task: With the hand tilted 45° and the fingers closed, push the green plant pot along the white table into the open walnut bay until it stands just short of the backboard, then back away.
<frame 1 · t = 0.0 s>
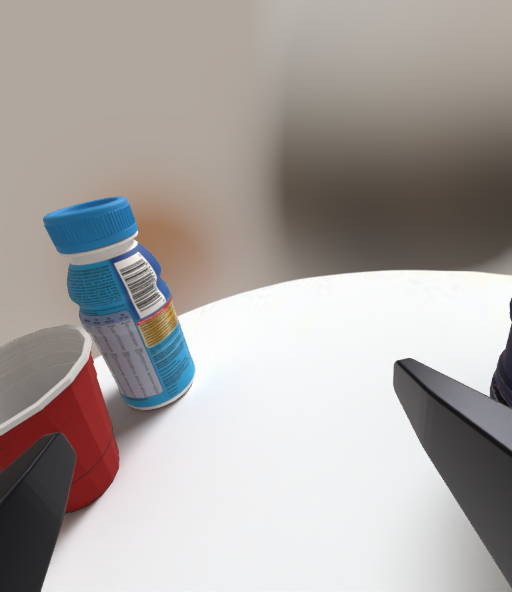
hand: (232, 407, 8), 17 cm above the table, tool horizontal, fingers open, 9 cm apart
beverage bottle: (162, 385, 35), on the table
plastic cup: (84, 480, 26), on the table
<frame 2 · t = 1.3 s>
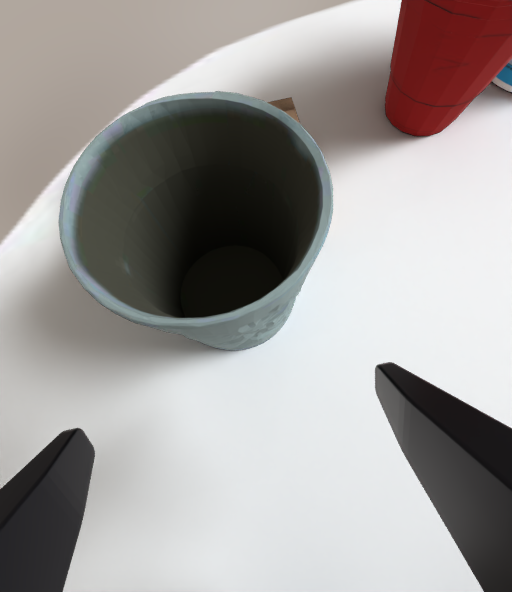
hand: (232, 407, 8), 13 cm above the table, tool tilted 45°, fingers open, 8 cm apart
walnut bay: (218, 223, 25), on the table
plastic cup: (414, 113, 27), on the table
green plant pot: (232, 295, 23), on the table
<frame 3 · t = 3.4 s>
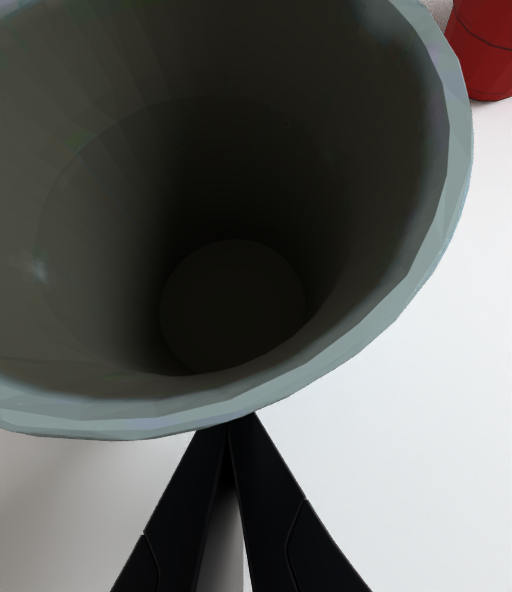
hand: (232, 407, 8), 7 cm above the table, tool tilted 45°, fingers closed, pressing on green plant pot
plastic cup: (475, 72, 21), on the table
green plant pot: (232, 308, 16), on the table, touching gripper
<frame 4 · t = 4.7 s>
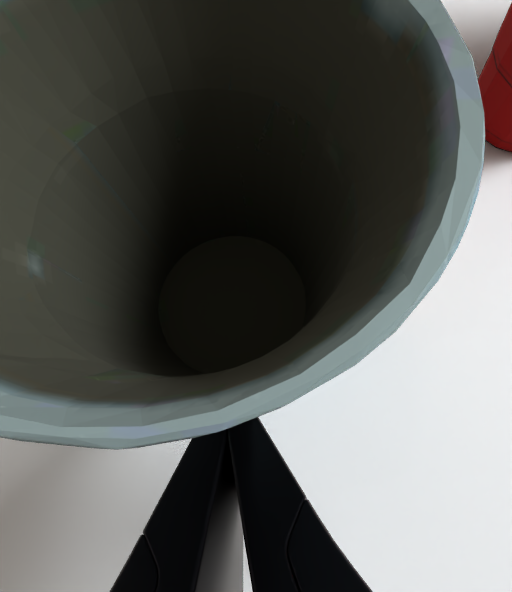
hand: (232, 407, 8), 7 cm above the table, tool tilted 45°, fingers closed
plastic cup: (510, 119, 19), on the table
green plant pot: (232, 305, 16), on the table
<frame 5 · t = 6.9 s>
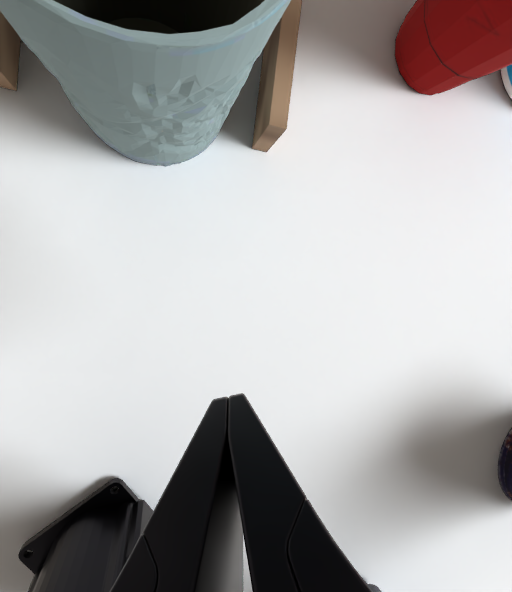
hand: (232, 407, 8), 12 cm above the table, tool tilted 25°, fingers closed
walnut bay: (151, 70, 18), on the table
plastic cup: (421, 55, 23), on the table
green plant pot: (149, 94, 18), on the table
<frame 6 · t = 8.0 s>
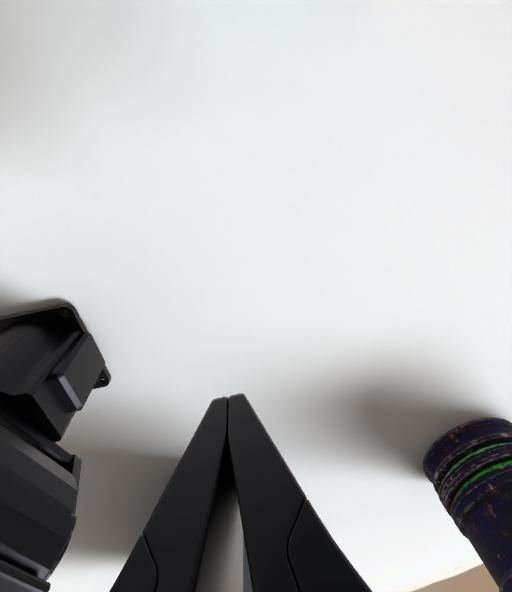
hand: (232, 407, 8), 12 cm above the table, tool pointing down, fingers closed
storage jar: (469, 451, 31), on the table
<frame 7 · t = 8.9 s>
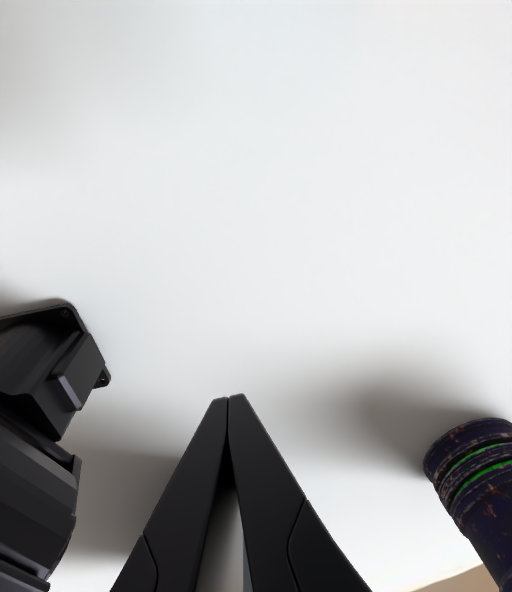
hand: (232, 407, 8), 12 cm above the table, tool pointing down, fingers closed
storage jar: (469, 451, 31), on the table
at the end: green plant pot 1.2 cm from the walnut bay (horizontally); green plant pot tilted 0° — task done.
